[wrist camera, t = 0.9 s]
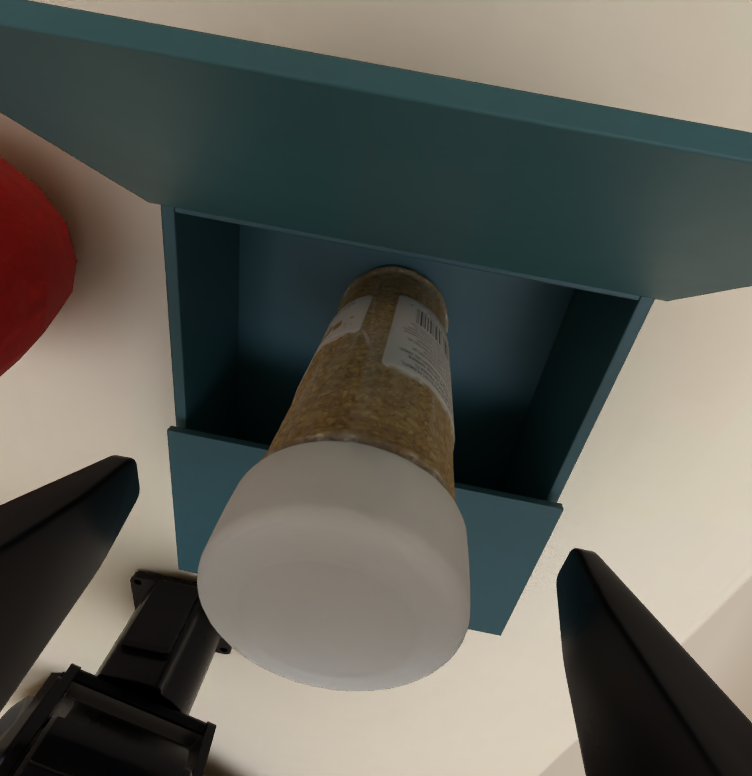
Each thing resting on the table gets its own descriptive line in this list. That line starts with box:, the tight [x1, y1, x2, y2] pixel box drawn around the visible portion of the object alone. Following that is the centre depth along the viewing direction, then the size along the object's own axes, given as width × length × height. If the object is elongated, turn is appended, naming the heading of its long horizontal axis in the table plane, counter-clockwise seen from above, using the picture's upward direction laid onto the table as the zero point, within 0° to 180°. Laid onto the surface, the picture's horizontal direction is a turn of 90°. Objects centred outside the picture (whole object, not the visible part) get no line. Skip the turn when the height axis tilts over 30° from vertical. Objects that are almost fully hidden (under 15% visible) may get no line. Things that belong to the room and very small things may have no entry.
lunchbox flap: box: [0, 0, 752, 301], centre depth 8 cm, size 7×14×1 cm
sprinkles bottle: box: [197, 266, 470, 691], centre depth 13 cm, size 5×5×13 cm
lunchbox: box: [161, 205, 655, 635], centre depth 18 cm, size 15×14×6 cm
